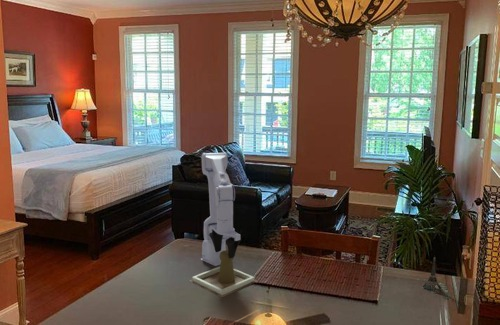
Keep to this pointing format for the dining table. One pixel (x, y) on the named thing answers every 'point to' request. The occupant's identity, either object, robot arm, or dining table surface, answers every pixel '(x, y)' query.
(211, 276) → the board
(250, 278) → the walled square frame
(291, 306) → the dining table surface
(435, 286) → the eiffel tower figurine
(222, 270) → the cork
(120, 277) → the dining table surface
